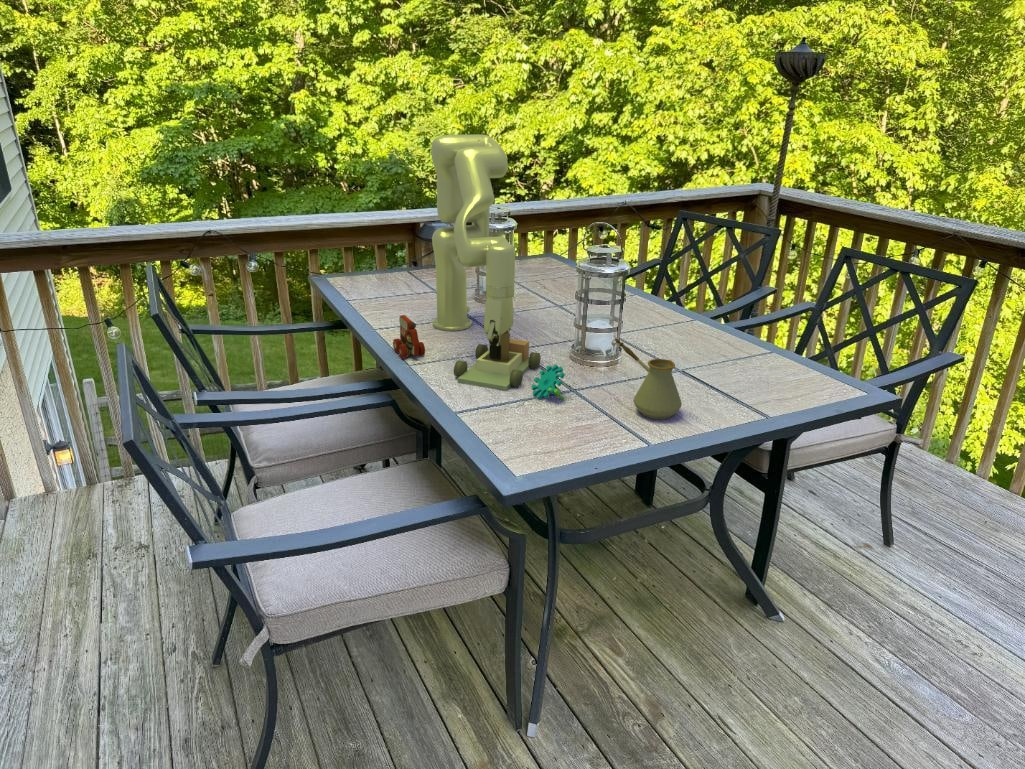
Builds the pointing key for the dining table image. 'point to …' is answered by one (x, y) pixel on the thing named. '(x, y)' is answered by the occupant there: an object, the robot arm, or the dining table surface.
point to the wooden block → (503, 347)
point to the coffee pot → (656, 388)
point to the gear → (548, 382)
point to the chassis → (498, 367)
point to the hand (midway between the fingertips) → (499, 354)
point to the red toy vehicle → (408, 339)
